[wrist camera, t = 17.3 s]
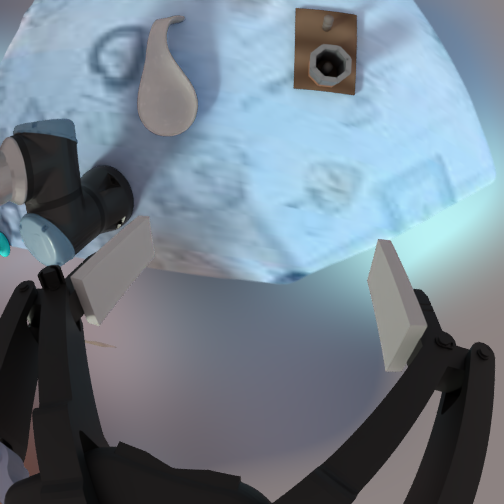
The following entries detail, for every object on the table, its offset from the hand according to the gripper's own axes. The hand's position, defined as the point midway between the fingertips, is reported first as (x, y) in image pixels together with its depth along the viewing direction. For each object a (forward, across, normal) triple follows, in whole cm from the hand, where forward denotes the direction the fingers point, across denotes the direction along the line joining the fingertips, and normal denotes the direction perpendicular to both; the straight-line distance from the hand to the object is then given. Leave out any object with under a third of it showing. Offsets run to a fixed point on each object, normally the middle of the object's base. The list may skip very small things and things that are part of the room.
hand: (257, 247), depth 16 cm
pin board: (+37, +5, +18) cm, 41 cm away
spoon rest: (+37, -22, +13) cm, 45 cm away
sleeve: (+35, +5, +14) cm, 38 cm away
